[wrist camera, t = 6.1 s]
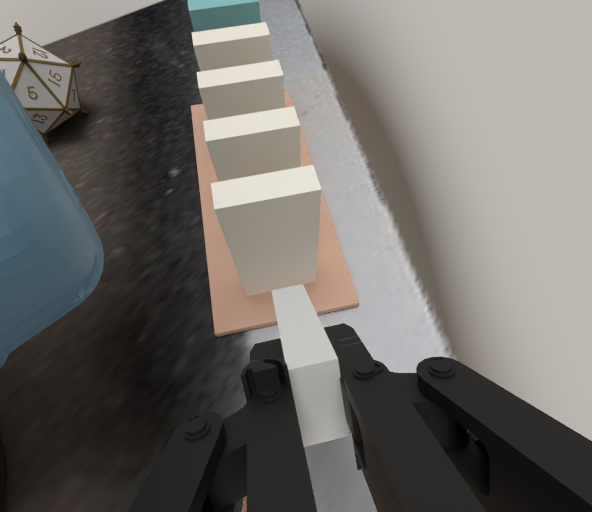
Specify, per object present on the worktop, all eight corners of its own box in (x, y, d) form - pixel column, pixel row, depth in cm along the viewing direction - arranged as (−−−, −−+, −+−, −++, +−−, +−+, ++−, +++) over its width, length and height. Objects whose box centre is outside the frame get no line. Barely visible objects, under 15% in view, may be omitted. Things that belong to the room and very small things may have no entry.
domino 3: (289, 187, 29) (283, 75, 21) (231, 198, 29) (198, 88, 20) (286, 174, 30) (278, 59, 21) (228, 184, 30) (196, 72, 21)
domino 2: (279, 150, 31) (269, 34, 23) (224, 160, 31) (193, 45, 22) (276, 138, 32) (265, 22, 24) (222, 147, 32) (191, 32, 23)
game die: (63, 161, 37) (-68, 117, 29) (75, 89, 39) (-48, 27, 31) (107, 142, 32) (-37, 82, 24) (118, 60, 34) (-15, -23, 26)
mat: (358, 305, 24) (359, 302, 24) (216, 337, 24) (214, 334, 23) (288, 95, 36) (288, 90, 36) (192, 111, 35) (190, 105, 35)
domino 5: (315, 282, 25) (321, 189, 16) (246, 296, 24) (214, 209, 16) (310, 263, 26) (313, 164, 17) (243, 276, 25) (210, 183, 16)
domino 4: (301, 231, 27) (300, 125, 18) (238, 243, 27) (205, 141, 18) (297, 214, 28) (293, 106, 19) (235, 226, 27) (202, 121, 19)
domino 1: (270, 118, 34) (258, 1, 25) (219, 126, 33) (188, 10, 24) (267, 107, 34) (255, -10, 26) (217, 116, 34) (187, -1, 25)
